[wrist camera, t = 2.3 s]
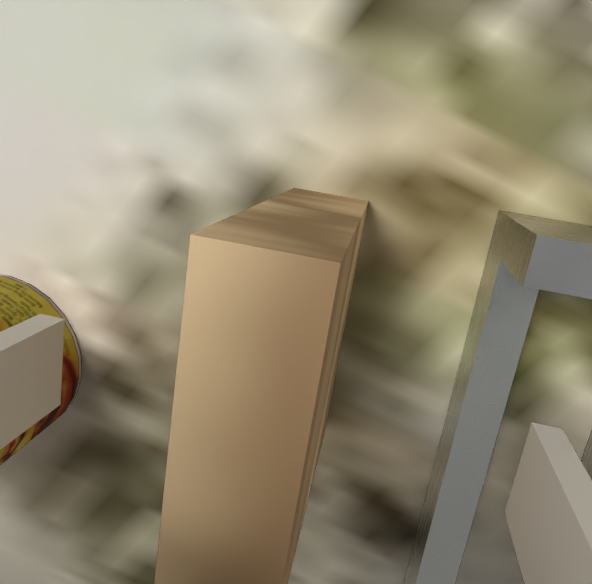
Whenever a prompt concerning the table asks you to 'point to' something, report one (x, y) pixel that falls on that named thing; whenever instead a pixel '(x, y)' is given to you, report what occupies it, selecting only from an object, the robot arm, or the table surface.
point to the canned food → (30, 302)
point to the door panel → (254, 385)
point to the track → (493, 377)
